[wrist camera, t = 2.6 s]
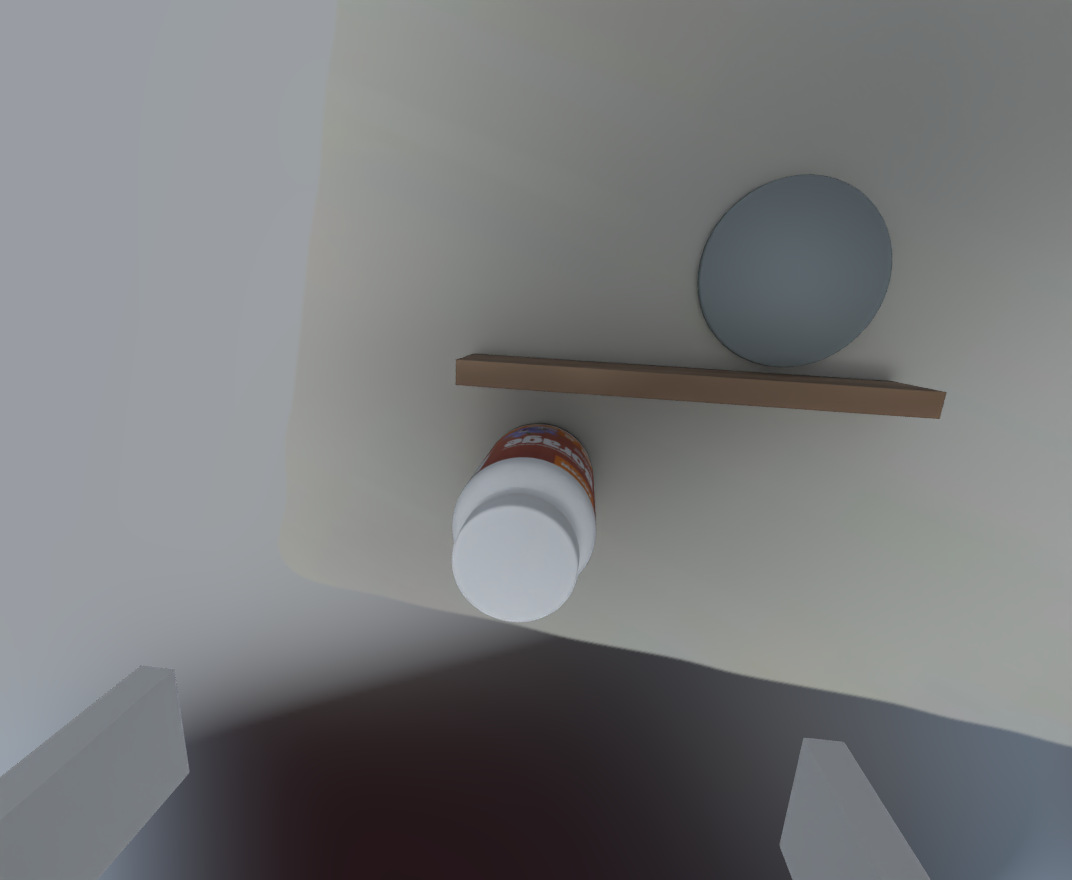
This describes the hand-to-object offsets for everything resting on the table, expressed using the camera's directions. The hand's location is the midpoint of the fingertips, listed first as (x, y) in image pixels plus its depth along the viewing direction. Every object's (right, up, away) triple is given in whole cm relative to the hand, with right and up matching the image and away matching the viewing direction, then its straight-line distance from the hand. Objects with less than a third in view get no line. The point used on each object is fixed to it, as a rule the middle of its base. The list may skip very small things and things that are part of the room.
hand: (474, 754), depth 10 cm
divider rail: (+9, +10, +16) cm, 21 cm away
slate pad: (+14, +15, +15) cm, 25 cm away
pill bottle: (+2, +5, +18) cm, 19 cm away
